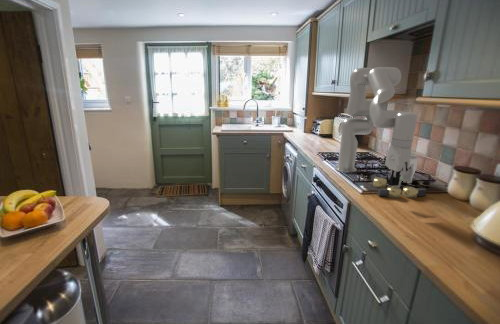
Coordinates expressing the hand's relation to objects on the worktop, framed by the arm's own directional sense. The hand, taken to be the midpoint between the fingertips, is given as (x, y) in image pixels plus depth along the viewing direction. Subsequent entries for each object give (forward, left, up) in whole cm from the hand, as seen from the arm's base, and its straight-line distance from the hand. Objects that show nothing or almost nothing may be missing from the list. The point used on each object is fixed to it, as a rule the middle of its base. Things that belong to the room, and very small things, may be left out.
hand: (393, 184), depth 113 cm
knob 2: (-7, +15, -8) cm, 18 cm away
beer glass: (-26, +23, -10) cm, 36 cm away
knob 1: (-7, +3, -8) cm, 11 cm away
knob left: (-21, +5, -8) cm, 23 cm away
